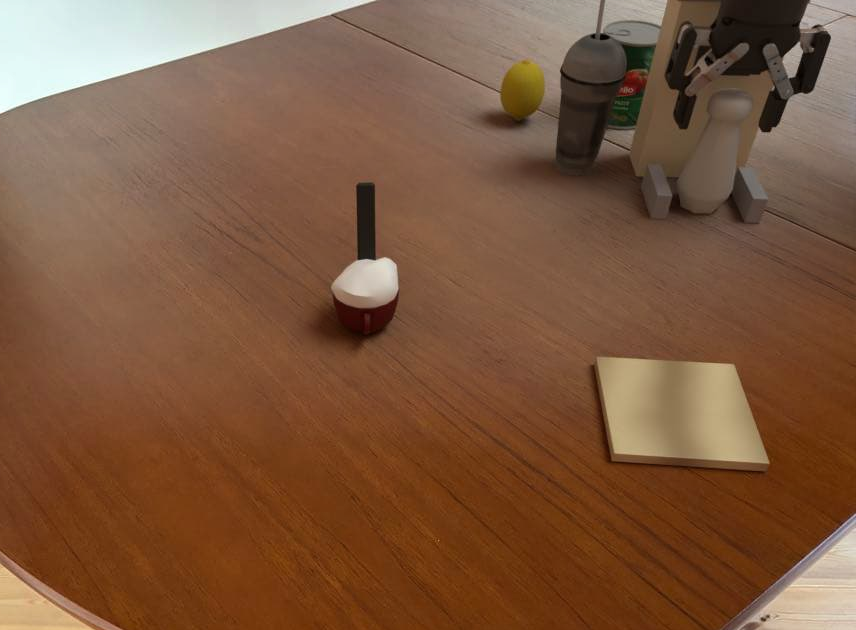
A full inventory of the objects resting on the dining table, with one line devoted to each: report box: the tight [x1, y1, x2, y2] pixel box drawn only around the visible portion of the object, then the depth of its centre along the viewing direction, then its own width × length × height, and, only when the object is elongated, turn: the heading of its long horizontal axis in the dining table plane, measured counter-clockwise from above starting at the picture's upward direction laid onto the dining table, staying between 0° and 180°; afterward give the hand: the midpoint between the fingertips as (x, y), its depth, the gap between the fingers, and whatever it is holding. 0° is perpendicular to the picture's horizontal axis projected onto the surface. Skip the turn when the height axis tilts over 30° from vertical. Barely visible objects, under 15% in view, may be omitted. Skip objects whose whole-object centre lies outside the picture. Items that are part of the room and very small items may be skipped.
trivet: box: [593, 356, 771, 472], centre depth 73 cm, size 12×12×1 cm
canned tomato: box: [602, 19, 661, 131], centre depth 110 cm, size 8×8×11 cm
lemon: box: [499, 58, 546, 121], centre depth 111 cm, size 6×6×8 cm
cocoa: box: [330, 181, 400, 335], centre depth 79 cm, size 10×6×12 cm, turn 156°
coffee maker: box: [628, 0, 811, 224], centre depth 92 cm, size 13×15×23 cm
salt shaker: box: [676, 88, 754, 215], centre depth 93 cm, size 6×6×13 cm
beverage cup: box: [554, 0, 626, 176], centre depth 97 cm, size 7×7×20 cm
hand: (722, 127), depth 91 cm, fingers open, 8 cm apart
